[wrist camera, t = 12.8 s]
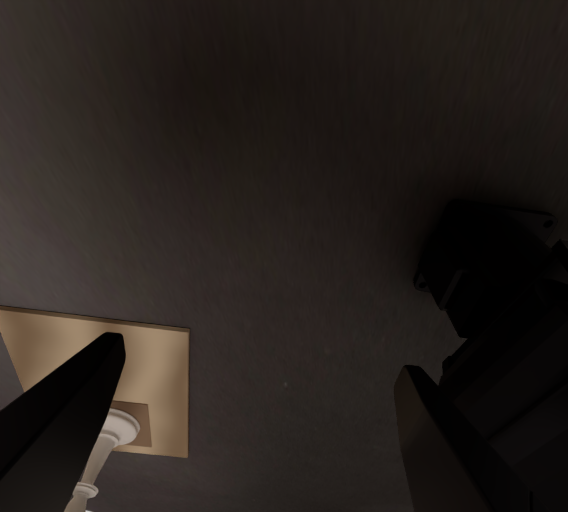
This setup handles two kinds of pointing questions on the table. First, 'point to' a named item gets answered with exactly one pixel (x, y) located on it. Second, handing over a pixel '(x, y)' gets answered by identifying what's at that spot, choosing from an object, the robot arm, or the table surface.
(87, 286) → the table surface
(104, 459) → the chess piece
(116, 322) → the board
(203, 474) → the table surface
